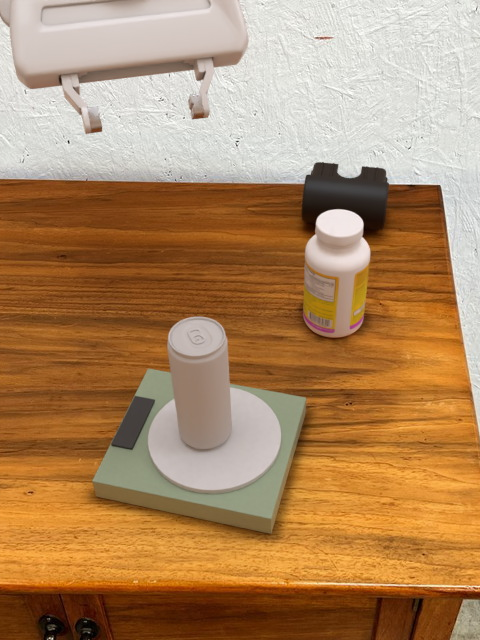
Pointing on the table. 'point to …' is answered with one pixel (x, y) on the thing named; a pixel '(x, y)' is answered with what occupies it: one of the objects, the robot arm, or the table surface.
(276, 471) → the scale
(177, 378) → the beverage can
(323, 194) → the black notched block
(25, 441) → the table surface
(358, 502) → the table surface
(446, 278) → the table surface
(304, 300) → the supplement bottle
